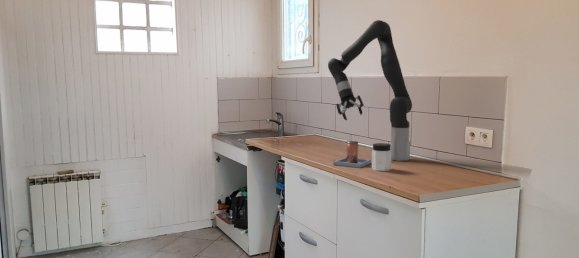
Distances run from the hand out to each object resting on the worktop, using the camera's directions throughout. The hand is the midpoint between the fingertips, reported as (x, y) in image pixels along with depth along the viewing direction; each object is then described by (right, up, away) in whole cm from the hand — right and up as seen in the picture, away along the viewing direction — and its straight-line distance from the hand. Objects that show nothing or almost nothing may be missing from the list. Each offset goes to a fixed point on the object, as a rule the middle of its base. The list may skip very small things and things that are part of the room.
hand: (353, 117), depth 239 cm
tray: (-3, -24, -18) cm, 30 cm away
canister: (-3, -24, -18) cm, 30 cm away
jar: (+8, -26, -31) cm, 41 cm away
